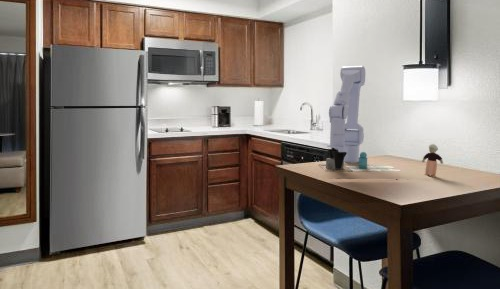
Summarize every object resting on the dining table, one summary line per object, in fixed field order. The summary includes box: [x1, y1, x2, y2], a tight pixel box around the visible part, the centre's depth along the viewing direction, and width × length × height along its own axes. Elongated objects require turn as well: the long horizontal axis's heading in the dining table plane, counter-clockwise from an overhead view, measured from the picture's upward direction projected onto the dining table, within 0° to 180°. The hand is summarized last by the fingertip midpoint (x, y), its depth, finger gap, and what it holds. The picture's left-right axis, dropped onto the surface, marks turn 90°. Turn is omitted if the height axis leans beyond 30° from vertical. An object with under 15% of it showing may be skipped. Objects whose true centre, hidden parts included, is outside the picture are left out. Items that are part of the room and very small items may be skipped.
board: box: [318, 164, 401, 172], centre depth 161 cm, size 14×31×1 cm, turn 91°
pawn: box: [357, 151, 368, 169], centre depth 161 cm, size 3×3×7 cm
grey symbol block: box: [325, 157, 345, 170], centre depth 161 cm, size 5×5×5 cm
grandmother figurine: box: [421, 143, 444, 178], centre depth 151 cm, size 8×4×13 cm, turn 62°
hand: (336, 167), depth 161 cm, fingers closed on grey symbol block, 6 cm apart
